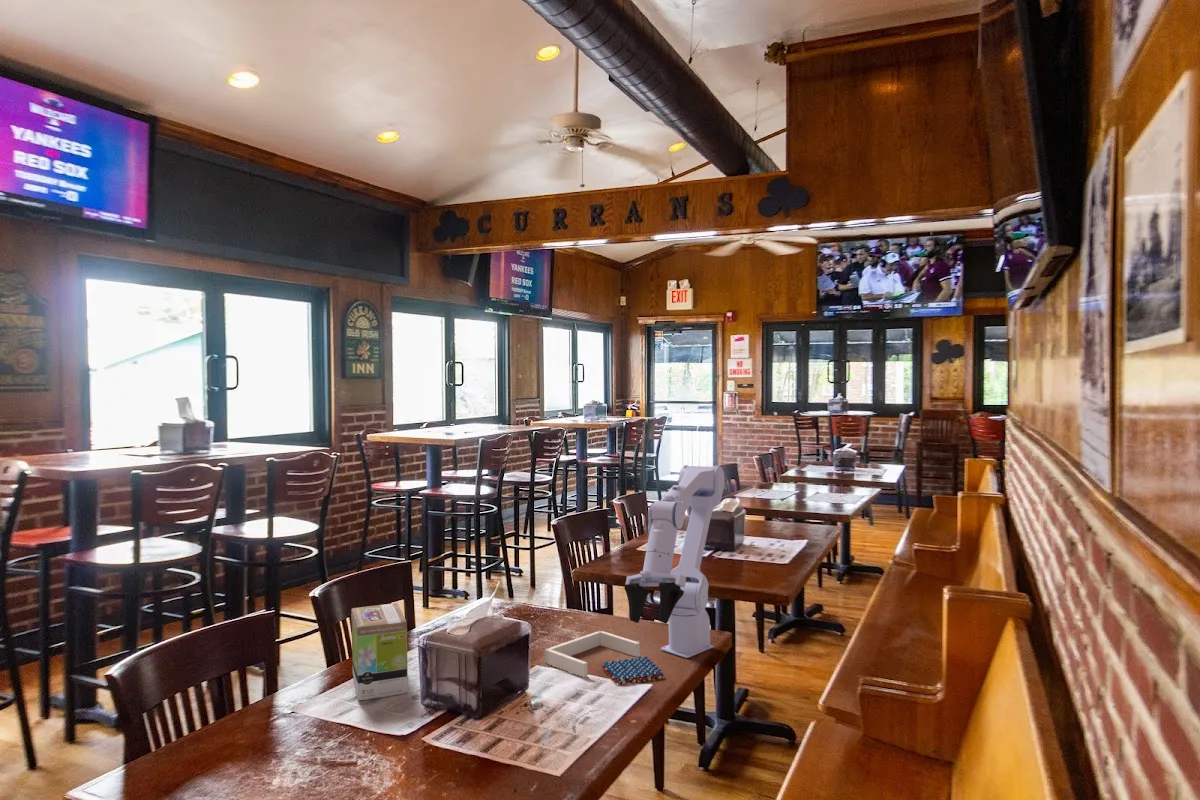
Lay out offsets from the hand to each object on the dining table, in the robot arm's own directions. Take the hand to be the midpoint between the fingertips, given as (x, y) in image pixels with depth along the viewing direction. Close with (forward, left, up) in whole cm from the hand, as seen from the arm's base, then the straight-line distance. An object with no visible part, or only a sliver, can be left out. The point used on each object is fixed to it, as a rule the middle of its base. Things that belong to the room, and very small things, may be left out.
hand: (648, 621), depth 156 cm
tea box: (+37, -42, -13) cm, 57 cm away
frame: (-2, -19, -13) cm, 23 cm away
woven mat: (-2, -7, -14) cm, 16 cm away
